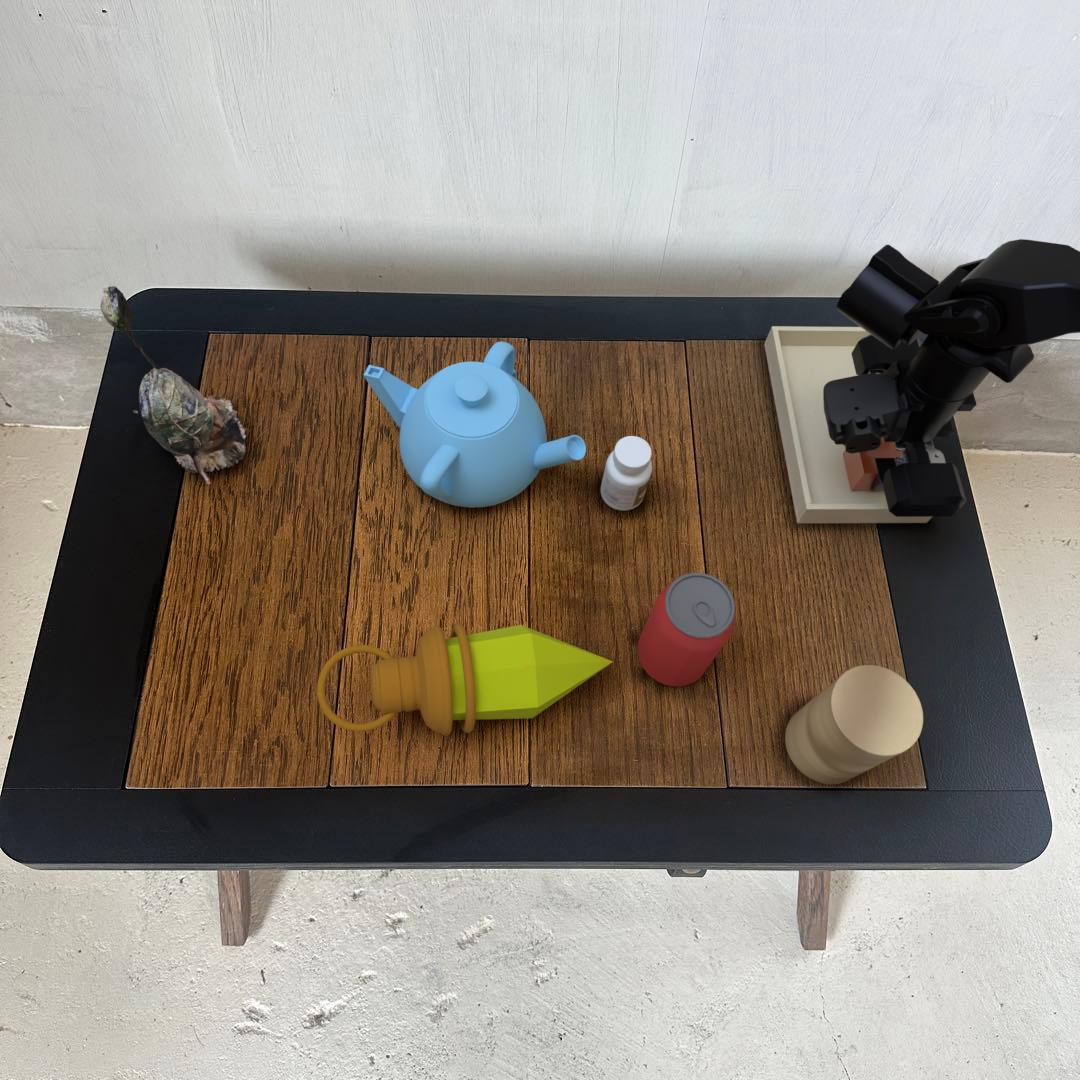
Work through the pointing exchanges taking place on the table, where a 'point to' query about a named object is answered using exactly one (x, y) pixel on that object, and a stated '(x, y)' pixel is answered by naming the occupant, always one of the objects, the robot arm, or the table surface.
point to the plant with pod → (181, 408)
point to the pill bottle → (627, 473)
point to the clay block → (866, 465)
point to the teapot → (472, 430)
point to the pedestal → (854, 725)
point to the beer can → (686, 629)
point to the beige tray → (818, 425)
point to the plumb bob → (470, 677)
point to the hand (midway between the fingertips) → (870, 469)
